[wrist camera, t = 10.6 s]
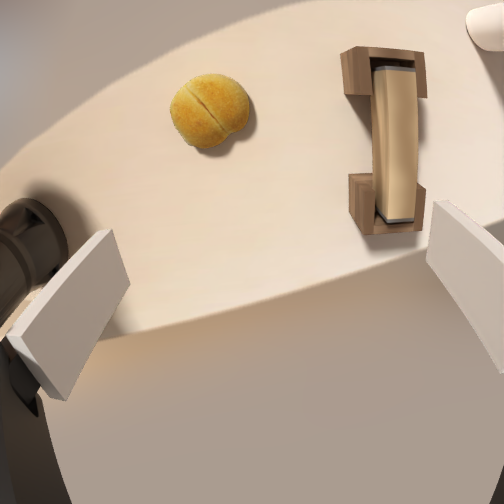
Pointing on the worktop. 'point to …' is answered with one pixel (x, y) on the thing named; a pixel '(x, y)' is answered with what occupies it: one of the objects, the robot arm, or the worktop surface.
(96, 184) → the worktop surface
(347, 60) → the post
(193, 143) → the bread roll
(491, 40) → the can
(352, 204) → the post
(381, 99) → the rail
